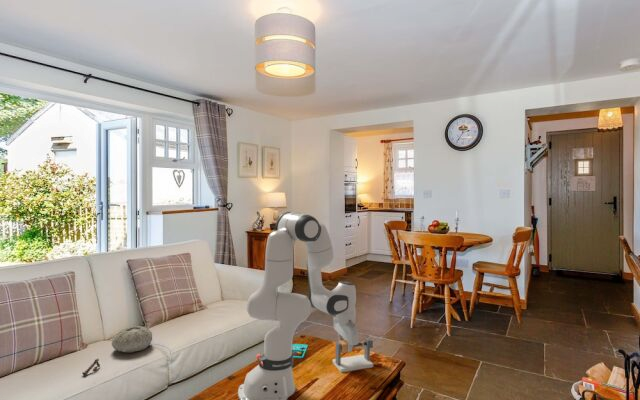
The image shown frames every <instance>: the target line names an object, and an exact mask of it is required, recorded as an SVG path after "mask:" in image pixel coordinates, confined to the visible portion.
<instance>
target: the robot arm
mask: <svg viewBox="0 0 640 400" xmlns="http://www.w3.org/2000/svg"><path fill="white" fill-rule="evenodd" d="M297 241H298V242H304V243H305V251H306V255H307V260H306V261H307V262H306V270H307V271H306V272H307V280H308V296H307V295H304V294H301V293H297V292H296V293H294V292H280V291H279V287H281V286H283V285H287V284H288V283H290V282H291V281H292V279H293V276H294V246H295V244H296V242H297ZM264 254H265V260H264V274H263V275H264V276H263V280H262V282H261V285H260V286H259V287H258V289H256V291H255V292H253V293H251V294H250V296H249V297H248V299H247V300H246V312H247V314H248V316H250V317H251V318H252V319H257V320H259V321H272V322H273V321H274V322H279V325H277V326H275V327H273V328H271V329H269V330H268V331H267V332H266V333H265V336H264V340H263V341H264V343H263V346H264V347H263V354H262V355H261V353H257V354H256V355H255V357H256V359H257V360H256V361H258V365H256V366H255V367H254V368H252V369H251V370H250V371H249V372H247V373H246V376H245V378H244V382H243V383H242V384H240V385H239V386H238V390H237V395H238V398H239V400H288V398H289V397H291V396H292V395H294V394H295V393H296V386H295V385H296V384H295V382H294V374H293V368H294V358H293V355H294V353H293V352H292V345H293V340H294V335H295V332H296V330H297V328H298V327H299V325H301V323H303V322H304V321H306V320H307V319H308V317H309V316H310V314H311V311H312V308H313V309H314V310H319V311H321V312H323V313H325V314H328V315H330V316H333V328H334V331H336V332H337V337H338V342H339V341H344V340H346V341H347V342H348V344H349V346H348V347H347V350H348V351H349V352H348V353H352V352H353V348H354V347H353V345H357V344H358V343H360V342H359V340H360V339H359V330H358V327H357V326H356V320H357V319H356V318H357V317H356V315H357V314H356V313H357V309H356V303H357V291H356V285H355V284H354V283H352V282H349V281H345V280H344V281H338V284H337V285H336V286H335V287H334V288H333V289H332V290H329V289H328V288H326V287H325V286H324V285H323V279H322V278H323V277H322V269H324V268H326V267H328V266H329V265H330V264H331V263H332V261H333V260H334V250H333V245H332V240H331V237H330V234H329V231H328V228H327V227H326V225H325V224H324V223H322V222H319V221H318V219H316V217H314V216H313V215H310V214H304V213H301V212H292V211H287V212H283V213H281V214H280V215H279V216H278V217H277V220H276V223H275V226H274V231H272V232H271V233H269V234H268V237H267V240H266V247H265V253H264Z"/></svg>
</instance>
